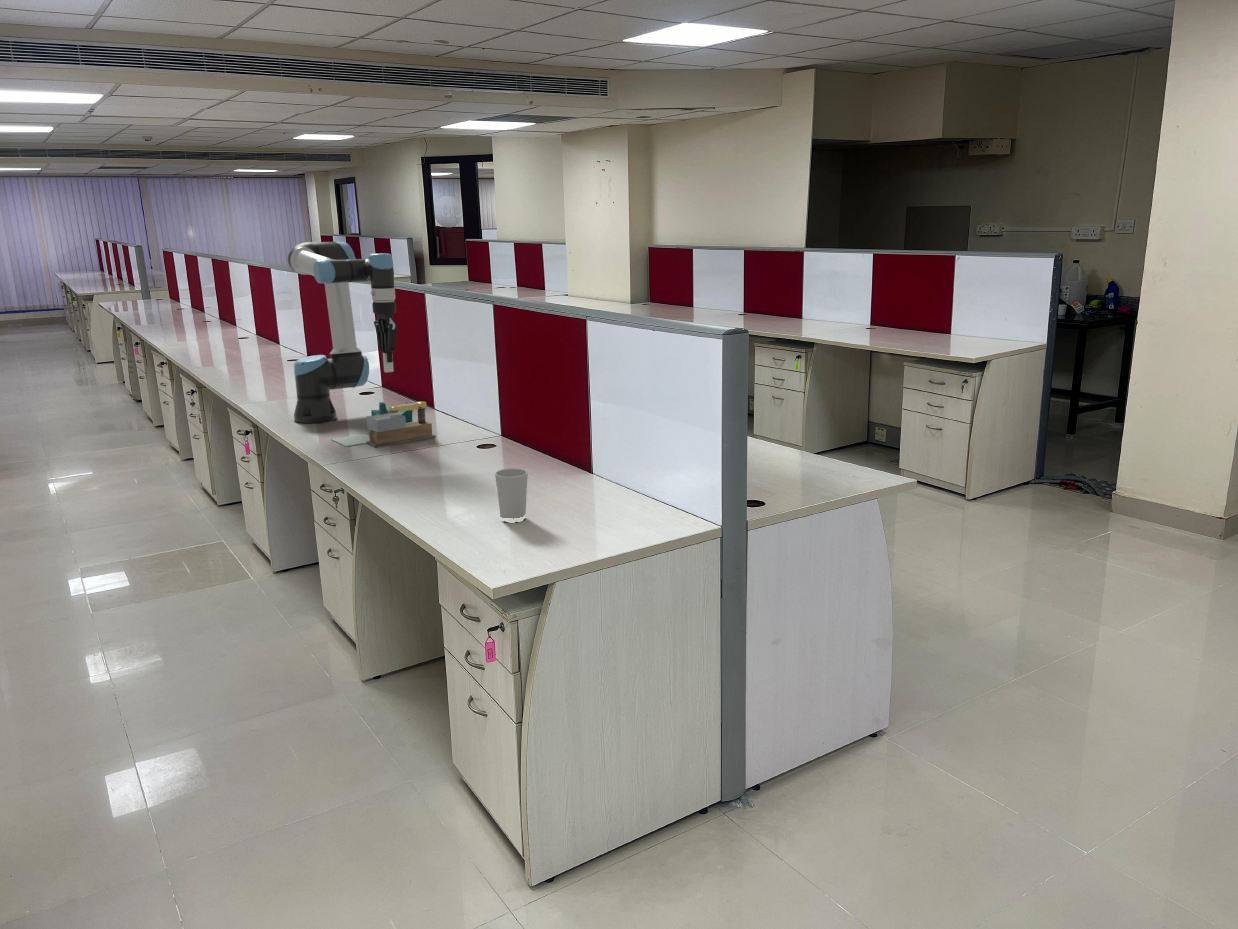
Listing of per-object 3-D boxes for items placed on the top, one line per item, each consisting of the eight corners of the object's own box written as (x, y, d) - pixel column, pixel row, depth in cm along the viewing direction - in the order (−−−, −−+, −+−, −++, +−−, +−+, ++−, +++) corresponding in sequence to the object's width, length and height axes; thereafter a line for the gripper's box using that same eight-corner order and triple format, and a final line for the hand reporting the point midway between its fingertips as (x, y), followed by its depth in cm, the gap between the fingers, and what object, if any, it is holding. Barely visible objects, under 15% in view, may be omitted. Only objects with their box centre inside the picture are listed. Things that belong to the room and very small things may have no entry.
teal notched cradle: (411, 433, 312) (412, 404, 310) (380, 433, 307) (381, 404, 305) (401, 423, 328) (401, 395, 325) (371, 423, 323) (371, 395, 321)
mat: (331, 440, 299) (331, 439, 299) (365, 435, 307) (364, 433, 307) (346, 446, 290) (346, 445, 290) (380, 441, 298) (380, 440, 298)
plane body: (366, 443, 295) (364, 414, 292) (425, 433, 308) (424, 406, 306) (375, 447, 290) (373, 418, 287) (435, 437, 303) (434, 409, 301)
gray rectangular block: (367, 428, 294) (366, 416, 293) (395, 424, 301) (394, 412, 300) (377, 432, 289) (377, 420, 287) (406, 428, 295) (405, 416, 294)
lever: (387, 411, 296) (387, 406, 295) (423, 406, 304) (422, 401, 303) (392, 413, 293) (392, 407, 292) (428, 408, 301) (428, 402, 301)
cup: (497, 514, 222) (495, 468, 219) (529, 513, 223) (528, 467, 220) (496, 525, 215) (494, 477, 212) (529, 524, 215) (527, 476, 212)
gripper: (364, 300, 296) (370, 370, 302) (382, 303, 286) (387, 375, 292) (385, 299, 301) (390, 368, 307) (403, 301, 291) (408, 372, 297)
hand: (388, 371), depth 300 cm, fingers closed
